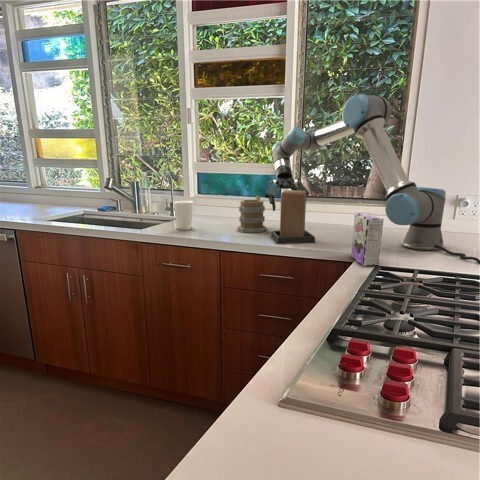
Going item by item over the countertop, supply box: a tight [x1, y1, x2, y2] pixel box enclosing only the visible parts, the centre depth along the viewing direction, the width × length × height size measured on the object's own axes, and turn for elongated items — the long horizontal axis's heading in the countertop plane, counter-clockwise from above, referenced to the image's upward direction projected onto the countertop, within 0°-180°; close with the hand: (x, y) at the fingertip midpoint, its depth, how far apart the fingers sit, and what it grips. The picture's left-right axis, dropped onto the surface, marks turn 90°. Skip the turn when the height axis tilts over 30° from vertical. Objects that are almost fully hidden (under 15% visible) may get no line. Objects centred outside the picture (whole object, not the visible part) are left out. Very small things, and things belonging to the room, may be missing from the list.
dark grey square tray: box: [270, 229, 316, 245], centre depth 203 cm, size 16×16×2 cm
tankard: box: [237, 195, 267, 234], centre depth 225 cm, size 20×13×15 cm, turn 161°
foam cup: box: [173, 200, 194, 231], centre depth 228 cm, size 10×9×13 cm
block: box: [279, 189, 307, 237], centre depth 199 cm, size 10×10×20 cm
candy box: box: [350, 211, 384, 267], centre depth 162 cm, size 14×6×16 cm, turn 4°
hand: (289, 208), depth 206 cm, fingers open, 13 cm apart
